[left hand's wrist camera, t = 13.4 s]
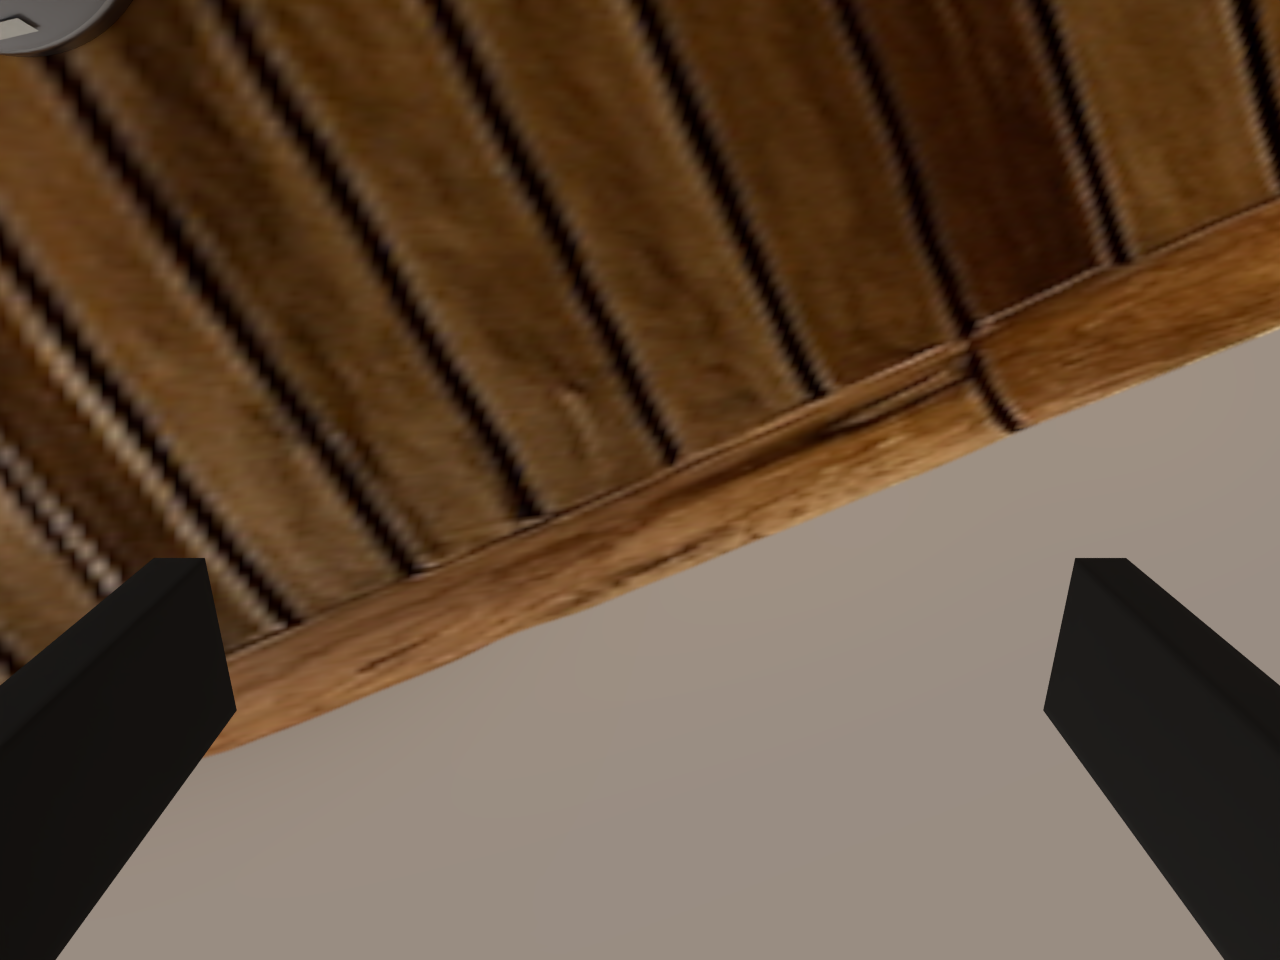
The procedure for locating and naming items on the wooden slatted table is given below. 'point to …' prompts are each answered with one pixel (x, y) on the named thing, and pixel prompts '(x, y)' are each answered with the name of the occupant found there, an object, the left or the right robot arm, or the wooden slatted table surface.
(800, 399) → the wooden slatted table surface
